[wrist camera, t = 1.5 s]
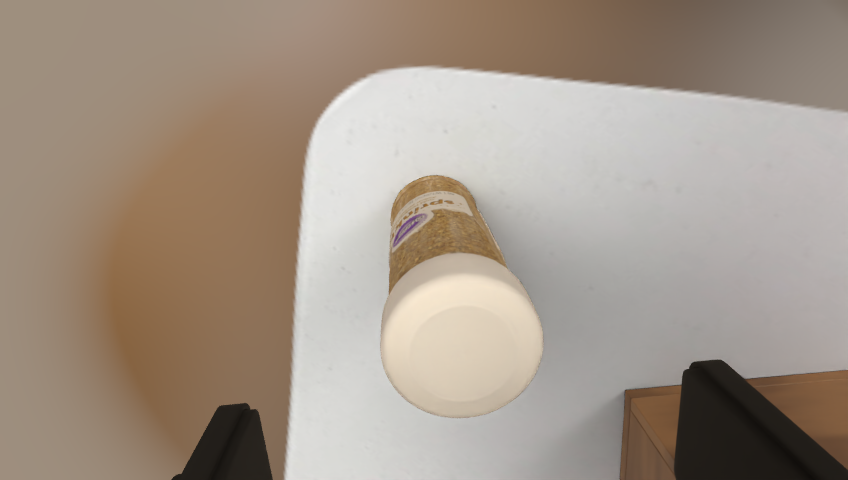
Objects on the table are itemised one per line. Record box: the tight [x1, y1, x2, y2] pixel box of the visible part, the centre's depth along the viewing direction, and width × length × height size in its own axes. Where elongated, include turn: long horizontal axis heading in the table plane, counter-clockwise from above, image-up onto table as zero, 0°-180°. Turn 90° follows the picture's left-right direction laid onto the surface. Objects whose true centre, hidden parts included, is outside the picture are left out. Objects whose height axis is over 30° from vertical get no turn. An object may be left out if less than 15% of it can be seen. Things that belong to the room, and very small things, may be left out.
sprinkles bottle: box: [380, 175, 543, 418], centre depth 20 cm, size 5×5×13 cm
